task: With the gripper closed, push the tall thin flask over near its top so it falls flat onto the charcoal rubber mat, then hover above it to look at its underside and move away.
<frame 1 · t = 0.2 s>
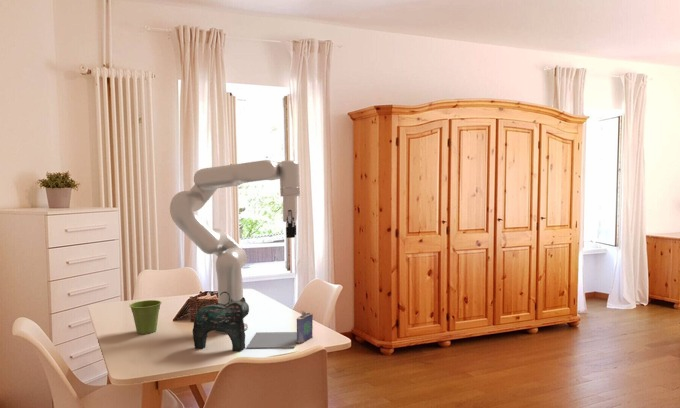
hand: (291, 236, 195), 36 cm above the table, tool pointing down, fingers open, 9 cm apart
ceramic cat: (220, 349, 174), on the table
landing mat: (274, 340, 182), on the table
plant pot: (146, 332, 196), on the table
flask: (304, 340, 182), on the table
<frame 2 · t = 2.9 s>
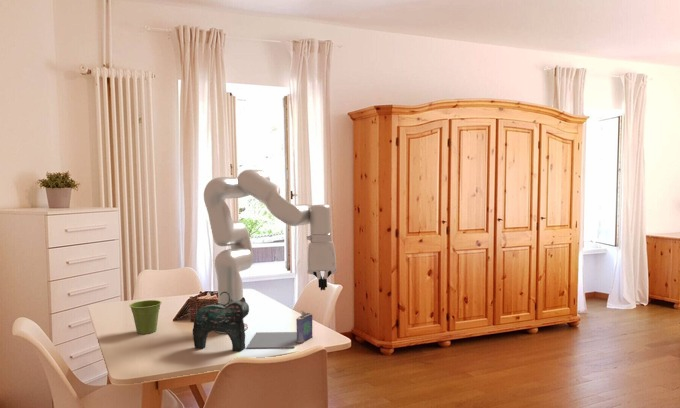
hand: (323, 289, 181), 18 cm above the table, tool pointing down, fingers closed
nothing on the table moved.
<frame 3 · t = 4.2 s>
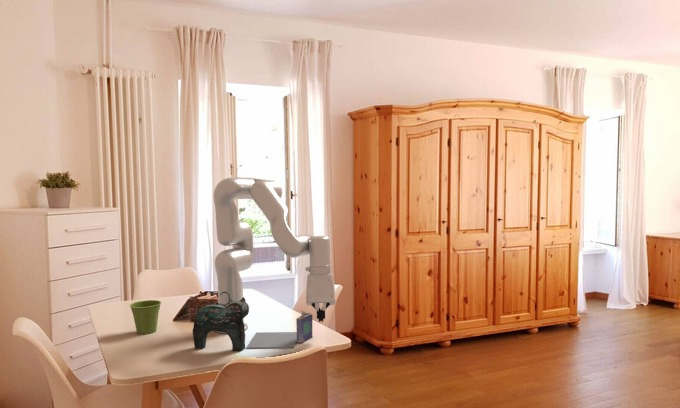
hand: (321, 320, 181), 7 cm above the table, tool pointing down, fingers closed
nothing on the table moved.
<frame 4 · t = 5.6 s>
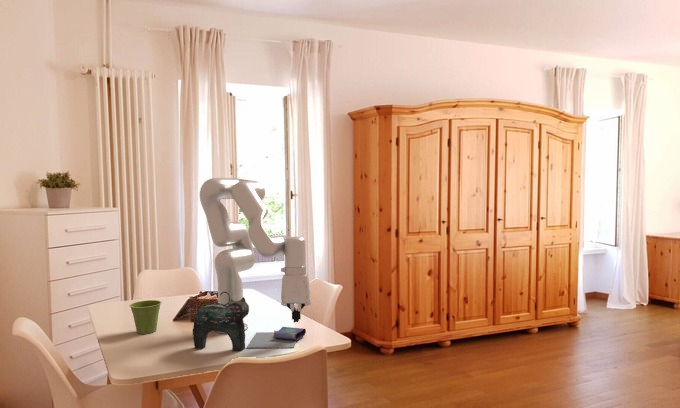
hand: (296, 321, 182), 7 cm above the table, tool pointing down, fingers closed
flask: (301, 334, 183), point 2 cm above the table, touching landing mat
everything else where it was.
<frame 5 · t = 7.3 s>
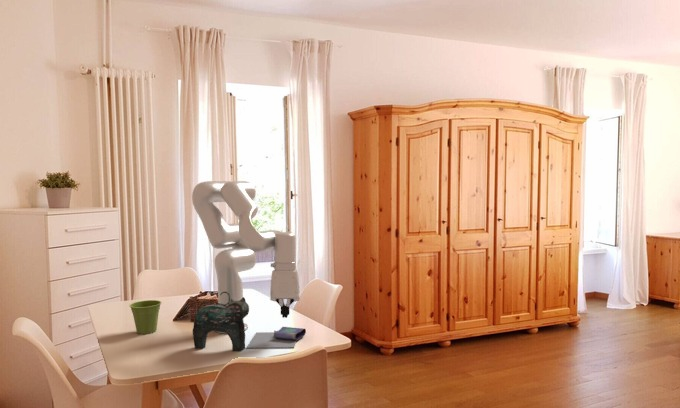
hand: (285, 316, 182), 9 cm above the table, tool pointing down, fingers closed
nothing on the table moved.
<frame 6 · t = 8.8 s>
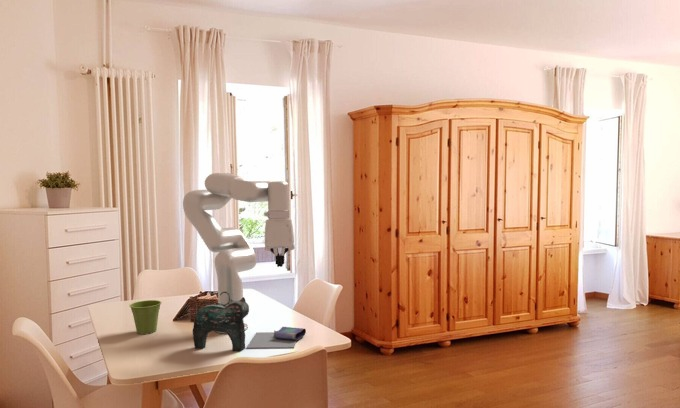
hand: (280, 266, 181), 27 cm above the table, tool pointing down, fingers closed
nothing on the table moved.
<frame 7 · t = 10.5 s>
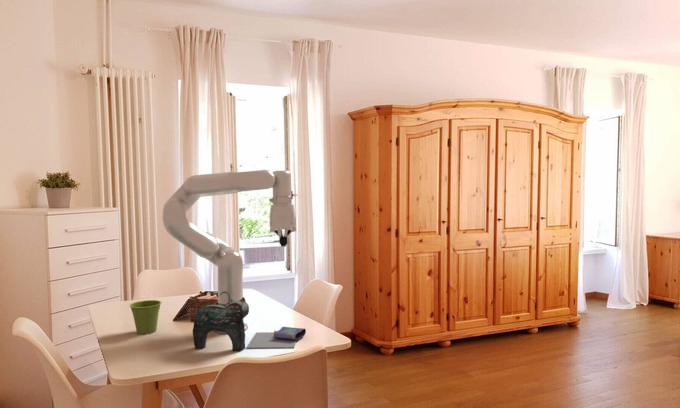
hand: (283, 246, 203), 32 cm above the table, tool pointing down, fingers closed
nothing on the table moved.
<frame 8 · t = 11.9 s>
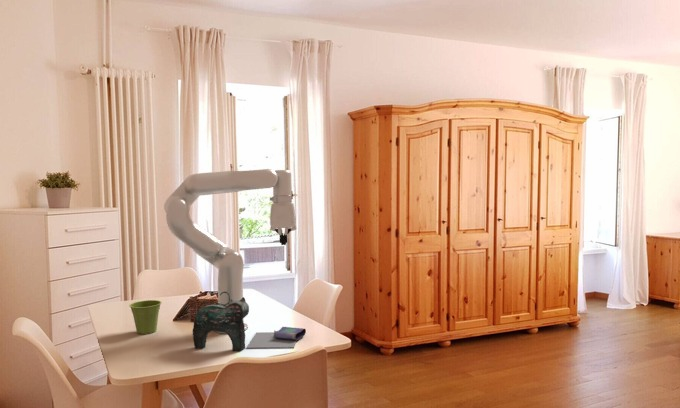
hand: (283, 244, 206), 32 cm above the table, tool pointing down, fingers closed
nothing on the table moved.
at the end: flask tilted 89°; flask touching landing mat; flask inside the target area (2.8 cm from its centre), point 1.9 cm above the table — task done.
